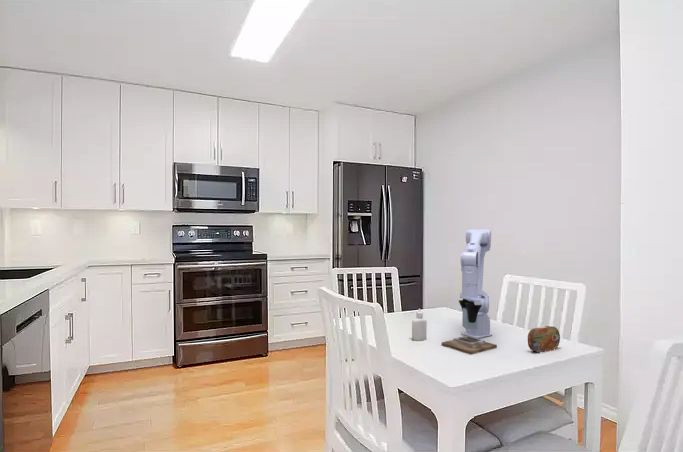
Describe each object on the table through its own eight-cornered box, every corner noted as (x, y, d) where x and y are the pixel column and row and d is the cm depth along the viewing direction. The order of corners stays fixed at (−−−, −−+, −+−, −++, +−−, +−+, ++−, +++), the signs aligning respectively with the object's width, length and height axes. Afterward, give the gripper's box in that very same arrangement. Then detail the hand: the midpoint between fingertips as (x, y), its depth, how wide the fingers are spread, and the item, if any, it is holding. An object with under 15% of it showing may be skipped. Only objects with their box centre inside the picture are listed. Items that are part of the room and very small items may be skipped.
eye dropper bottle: (411, 337, 159) (412, 307, 159) (426, 338, 158) (426, 307, 158) (412, 340, 155) (412, 309, 155) (426, 341, 154) (427, 310, 154)
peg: (472, 326, 150) (473, 304, 150) (477, 328, 146) (477, 307, 146) (462, 326, 150) (462, 304, 150) (466, 329, 146) (466, 307, 146)
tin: (533, 354, 140) (533, 330, 140) (525, 351, 142) (525, 328, 143) (560, 348, 147) (561, 325, 147) (552, 346, 149) (553, 323, 149)
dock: (467, 339, 158) (467, 332, 158) (496, 347, 147) (496, 340, 147) (441, 345, 149) (441, 338, 149) (470, 354, 138) (470, 347, 138)
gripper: (489, 287, 141) (488, 325, 141) (472, 281, 155) (472, 316, 155) (469, 287, 140) (469, 325, 140) (454, 281, 155) (454, 316, 155)
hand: (469, 321), depth 148 cm, fingers closed on peg, 4 cm apart
